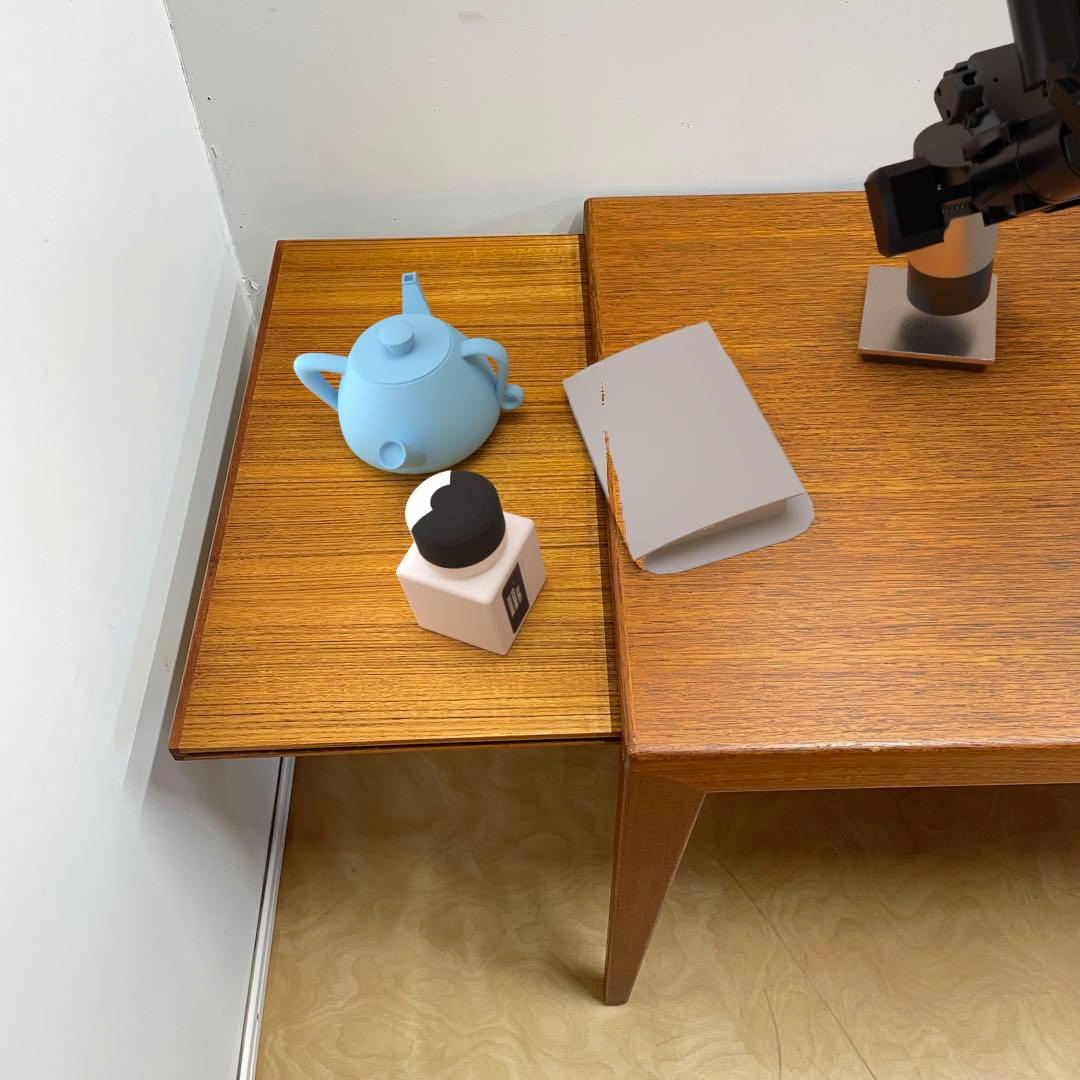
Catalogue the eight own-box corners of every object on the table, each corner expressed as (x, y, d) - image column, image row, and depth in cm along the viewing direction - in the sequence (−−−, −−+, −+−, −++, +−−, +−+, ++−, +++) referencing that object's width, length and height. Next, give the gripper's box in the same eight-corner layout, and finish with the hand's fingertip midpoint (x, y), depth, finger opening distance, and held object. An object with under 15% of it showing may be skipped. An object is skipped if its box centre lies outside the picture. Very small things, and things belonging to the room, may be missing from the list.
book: (720, 339, 91) (720, 306, 88) (827, 528, 77) (832, 497, 74) (560, 385, 90) (555, 354, 87) (639, 584, 76) (636, 555, 73)
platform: (989, 377, 84) (995, 360, 82) (855, 364, 87) (858, 348, 85) (992, 291, 90) (997, 274, 88) (866, 282, 93) (869, 265, 91)
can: (966, 325, 81) (982, 174, 71) (890, 303, 85) (895, 157, 74) (1005, 277, 84) (1027, 124, 73) (930, 258, 87) (940, 109, 77)
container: (548, 577, 78) (525, 471, 67) (506, 658, 74) (473, 559, 64) (463, 550, 81) (427, 445, 70) (417, 627, 77) (372, 527, 66)
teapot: (297, 450, 90) (253, 359, 81) (429, 339, 96) (402, 244, 87) (414, 529, 82) (380, 439, 74) (548, 403, 89) (532, 307, 80)
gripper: (1171, -8, 64) (1033, 76, 79) (896, 65, 63) (811, 135, 78) (1201, 166, 65) (1060, 215, 81) (933, 239, 64) (842, 275, 80)
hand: (943, 207), depth 80 cm, fingers closed on can, 7 cm apart
